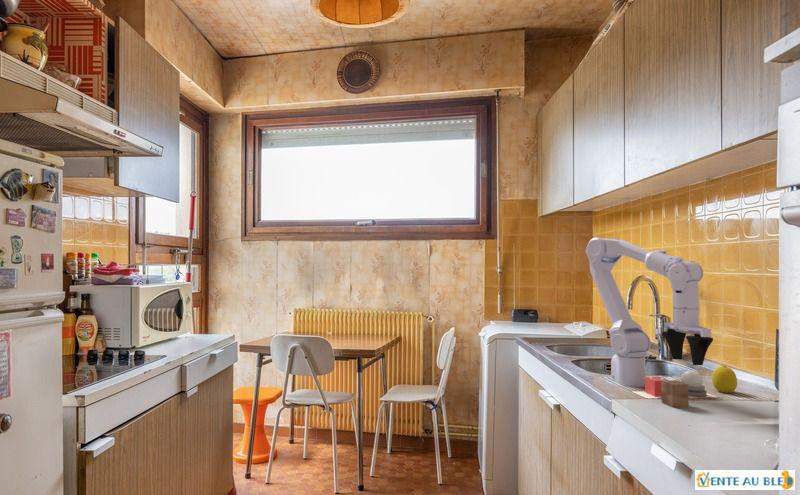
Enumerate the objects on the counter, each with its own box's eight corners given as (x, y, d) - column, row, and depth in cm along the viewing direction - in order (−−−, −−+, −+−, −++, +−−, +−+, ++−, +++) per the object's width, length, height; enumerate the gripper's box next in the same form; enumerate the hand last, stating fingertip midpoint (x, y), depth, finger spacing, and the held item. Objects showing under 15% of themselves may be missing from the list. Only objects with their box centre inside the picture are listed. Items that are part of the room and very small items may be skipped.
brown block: (661, 405, 113) (661, 380, 113) (677, 405, 113) (676, 380, 114) (672, 410, 109) (672, 384, 109) (688, 410, 109) (688, 384, 110)
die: (645, 392, 122) (645, 375, 122) (659, 392, 123) (659, 375, 123) (654, 396, 118) (654, 378, 118) (669, 396, 119) (669, 378, 119)
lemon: (726, 398, 120) (725, 367, 121) (707, 393, 126) (706, 363, 126) (743, 397, 122) (742, 366, 122) (723, 392, 127) (722, 362, 127)
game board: (631, 395, 123) (631, 387, 123) (699, 394, 125) (699, 386, 125) (673, 414, 107) (672, 405, 107) (750, 412, 108) (750, 404, 108)
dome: (674, 386, 124) (674, 368, 124) (694, 386, 124) (694, 368, 124) (689, 392, 118) (688, 372, 118) (710, 391, 119) (709, 372, 119)
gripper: (653, 306, 126) (654, 356, 125) (690, 310, 111) (692, 368, 111) (678, 306, 126) (679, 356, 126) (718, 310, 112) (720, 367, 111)
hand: (687, 362), depth 118 cm, fingers open, 7 cm apart
